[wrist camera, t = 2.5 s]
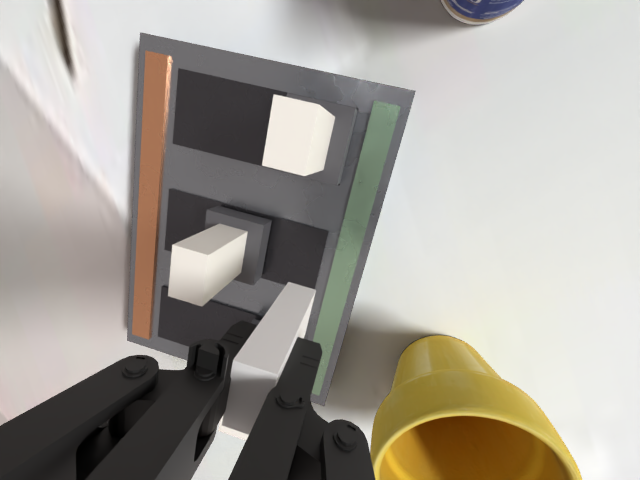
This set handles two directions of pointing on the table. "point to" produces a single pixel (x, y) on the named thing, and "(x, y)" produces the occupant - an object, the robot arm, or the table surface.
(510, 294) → the table surface
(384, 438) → the plant pot
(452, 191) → the table surface
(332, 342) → the panel
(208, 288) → the breaker mid
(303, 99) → the block
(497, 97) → the table surface
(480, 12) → the pill bottle
